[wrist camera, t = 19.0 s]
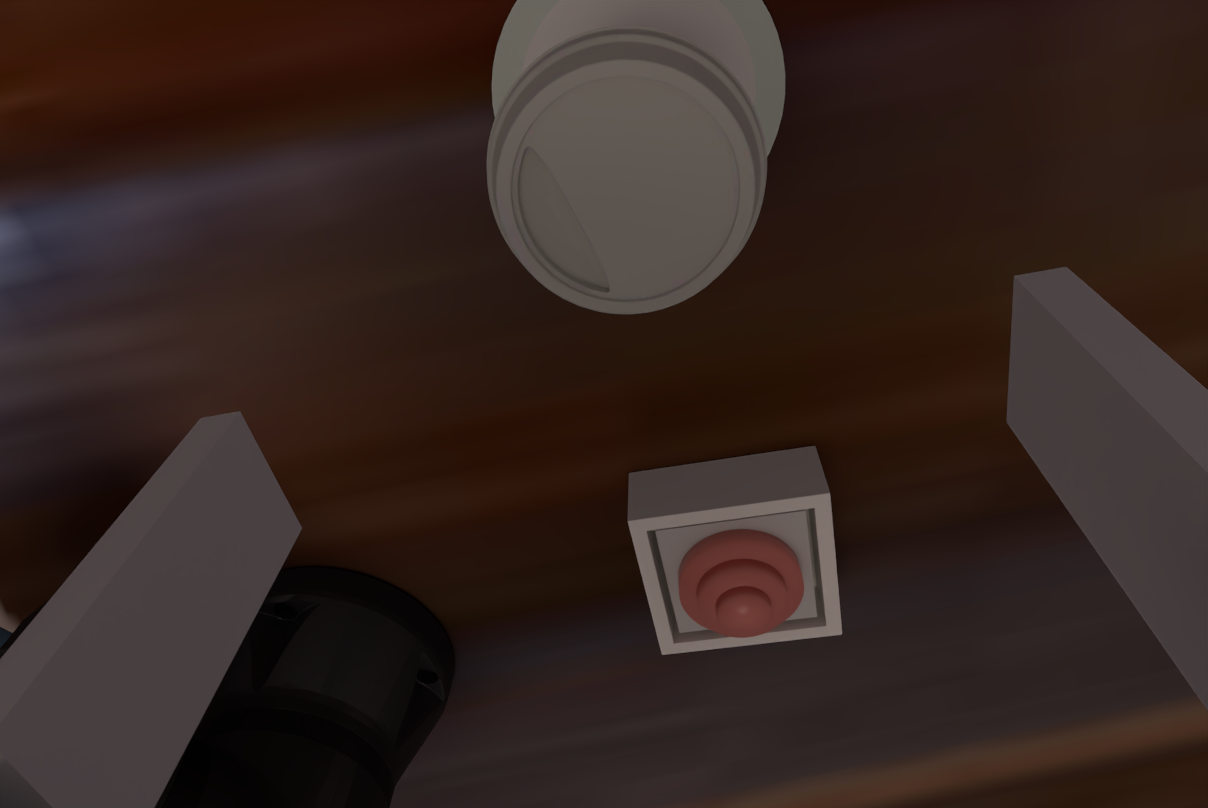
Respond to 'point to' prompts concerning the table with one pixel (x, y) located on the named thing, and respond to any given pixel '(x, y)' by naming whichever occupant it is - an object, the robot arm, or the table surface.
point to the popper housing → (734, 495)
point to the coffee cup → (626, 169)
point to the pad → (672, 3)
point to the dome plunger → (739, 573)
